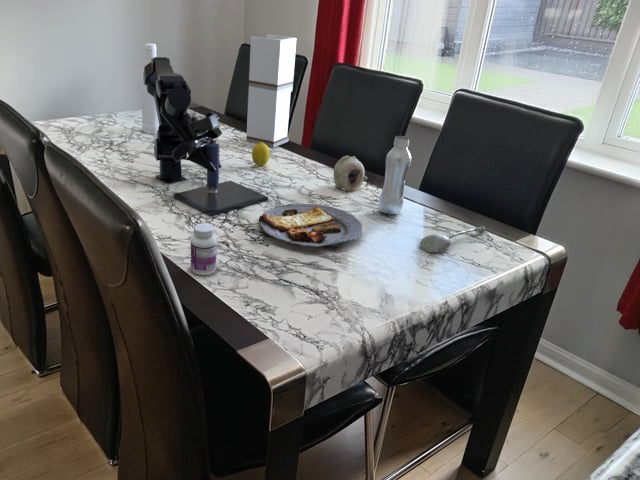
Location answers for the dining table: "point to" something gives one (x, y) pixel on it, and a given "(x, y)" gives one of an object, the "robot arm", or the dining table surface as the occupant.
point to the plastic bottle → (395, 176)
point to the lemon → (260, 154)
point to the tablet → (220, 198)
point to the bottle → (149, 98)
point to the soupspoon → (442, 240)
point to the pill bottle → (203, 250)
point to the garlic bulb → (349, 173)
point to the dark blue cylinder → (214, 157)
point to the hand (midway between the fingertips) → (217, 169)
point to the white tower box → (270, 89)
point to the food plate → (310, 225)
